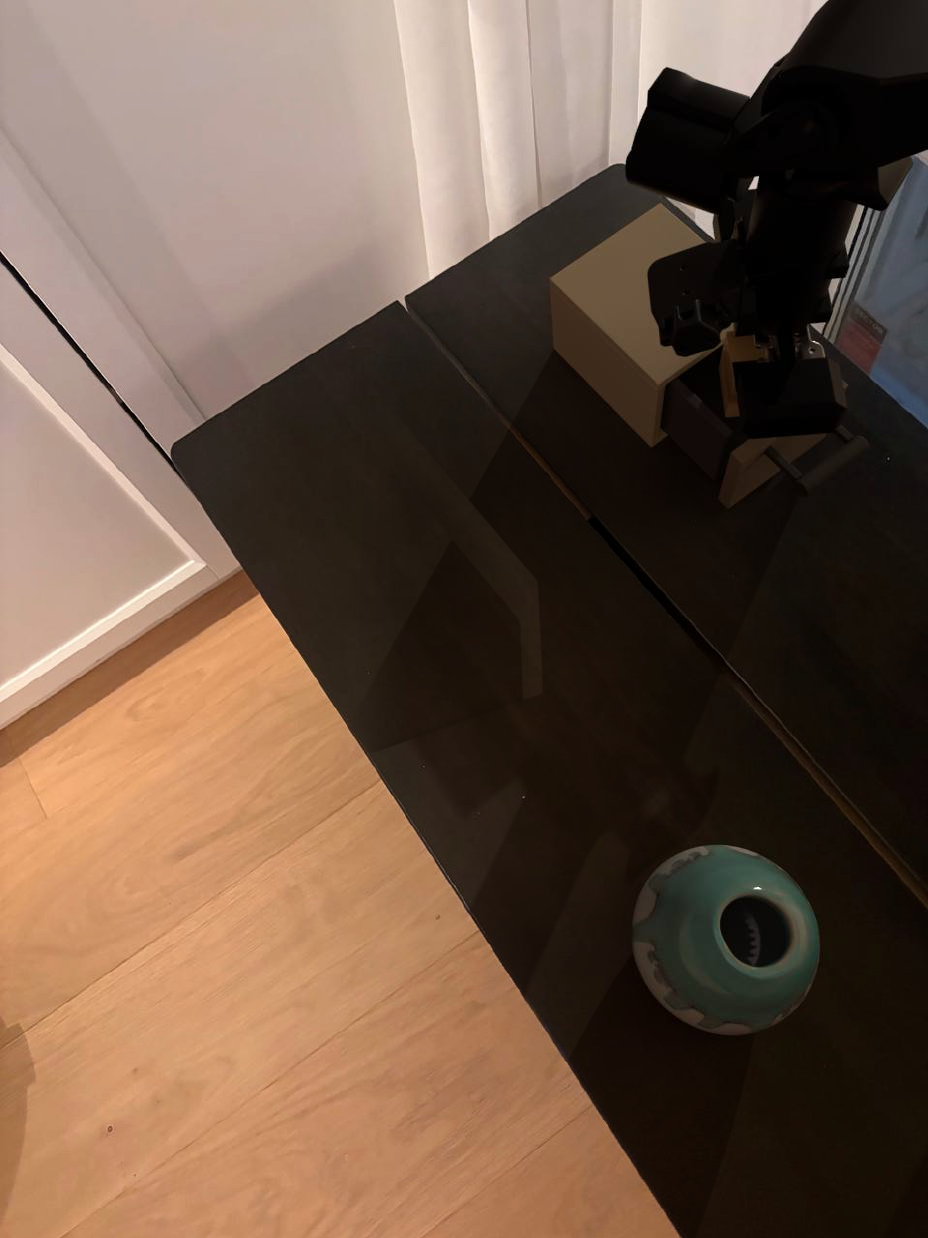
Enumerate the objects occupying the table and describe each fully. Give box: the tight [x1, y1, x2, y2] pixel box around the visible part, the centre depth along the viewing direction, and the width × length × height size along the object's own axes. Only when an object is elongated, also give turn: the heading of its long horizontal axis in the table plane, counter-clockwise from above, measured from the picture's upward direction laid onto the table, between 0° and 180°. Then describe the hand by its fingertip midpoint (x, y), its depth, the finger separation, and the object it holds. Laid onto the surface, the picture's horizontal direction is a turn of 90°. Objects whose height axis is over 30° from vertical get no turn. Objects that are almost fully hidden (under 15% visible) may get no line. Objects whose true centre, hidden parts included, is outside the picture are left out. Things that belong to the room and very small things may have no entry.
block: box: [719, 331, 772, 417], centre depth 68 cm, size 4×4×4 cm
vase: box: [630, 844, 821, 1036], centre depth 55 cm, size 12×12×18 cm
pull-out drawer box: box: [660, 344, 870, 510], centre depth 72 cm, size 17×10×7 cm, turn 36°
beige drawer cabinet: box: [548, 202, 734, 448], centre depth 77 cm, size 14×12×9 cm
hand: (754, 381), depth 69 cm, fingers closed on block, 4 cm apart
